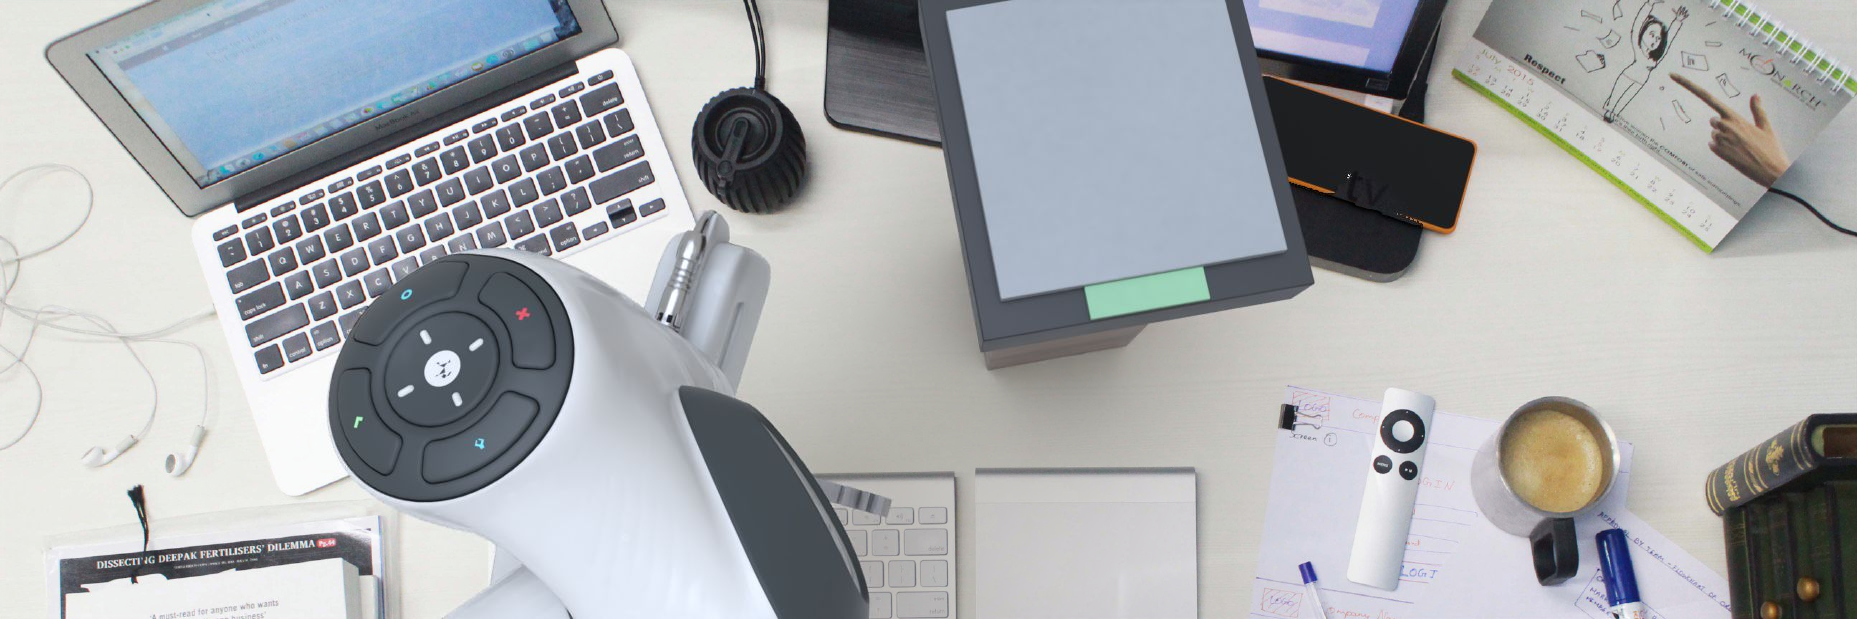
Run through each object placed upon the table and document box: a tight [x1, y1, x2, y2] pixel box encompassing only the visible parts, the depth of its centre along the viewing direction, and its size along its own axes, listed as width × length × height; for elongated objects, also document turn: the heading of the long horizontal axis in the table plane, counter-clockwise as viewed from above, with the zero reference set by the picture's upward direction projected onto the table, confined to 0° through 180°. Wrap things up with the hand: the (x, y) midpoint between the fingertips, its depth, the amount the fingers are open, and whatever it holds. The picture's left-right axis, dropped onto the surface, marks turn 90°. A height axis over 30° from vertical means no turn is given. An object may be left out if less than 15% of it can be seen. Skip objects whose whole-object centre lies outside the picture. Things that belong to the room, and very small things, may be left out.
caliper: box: [814, 477, 893, 518], centre depth 56 cm, size 20×1×6 cm, turn 75°
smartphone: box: [1262, 75, 1478, 235], centre depth 76 cm, size 8×17×1 cm, turn 70°
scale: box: [917, 0, 1316, 354], centre depth 46 cm, size 16×14×4 cm
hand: (705, 457), depth 57 cm, fingers closed on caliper, 1 cm apart
